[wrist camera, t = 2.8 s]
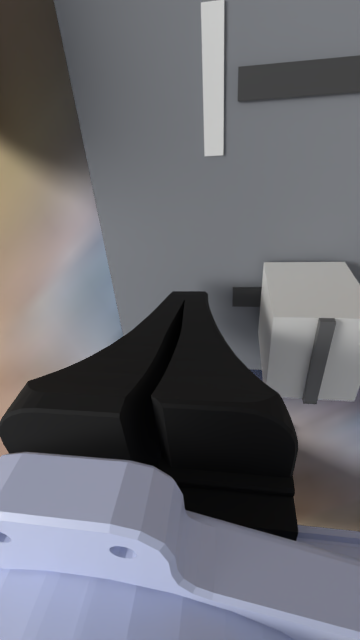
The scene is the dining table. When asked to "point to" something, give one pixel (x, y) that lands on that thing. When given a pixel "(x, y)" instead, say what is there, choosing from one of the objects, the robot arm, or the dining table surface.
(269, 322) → the pale fader
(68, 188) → the dining table surface
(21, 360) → the dining table surface
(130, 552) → the robot arm
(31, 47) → the dining table surface
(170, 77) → the fader board
